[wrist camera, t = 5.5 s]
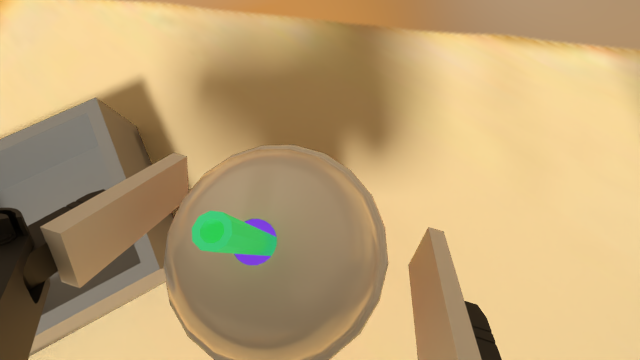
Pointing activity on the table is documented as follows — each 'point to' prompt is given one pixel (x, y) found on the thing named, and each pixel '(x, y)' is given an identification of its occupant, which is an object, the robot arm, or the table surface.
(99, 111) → the holder tray
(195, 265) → the smoothie
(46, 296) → the robot arm
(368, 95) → the table surface
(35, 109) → the table surface
